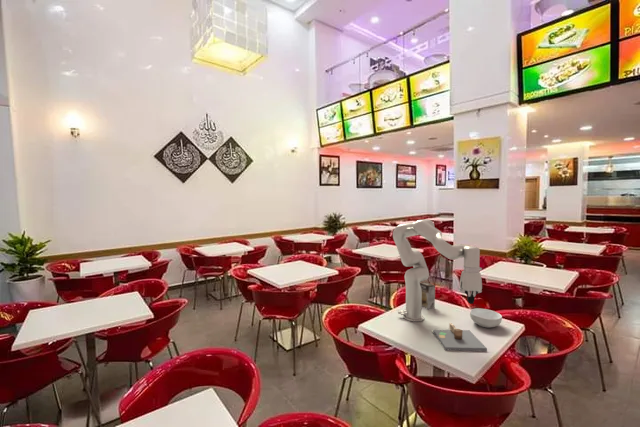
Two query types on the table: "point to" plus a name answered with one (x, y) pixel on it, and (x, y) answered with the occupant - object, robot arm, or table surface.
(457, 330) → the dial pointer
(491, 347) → the table surface
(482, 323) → the cereal bowl
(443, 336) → the grey flat square slab
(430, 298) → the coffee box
